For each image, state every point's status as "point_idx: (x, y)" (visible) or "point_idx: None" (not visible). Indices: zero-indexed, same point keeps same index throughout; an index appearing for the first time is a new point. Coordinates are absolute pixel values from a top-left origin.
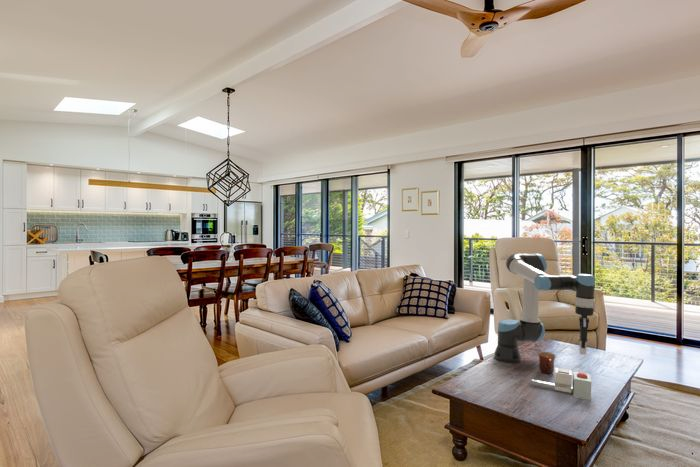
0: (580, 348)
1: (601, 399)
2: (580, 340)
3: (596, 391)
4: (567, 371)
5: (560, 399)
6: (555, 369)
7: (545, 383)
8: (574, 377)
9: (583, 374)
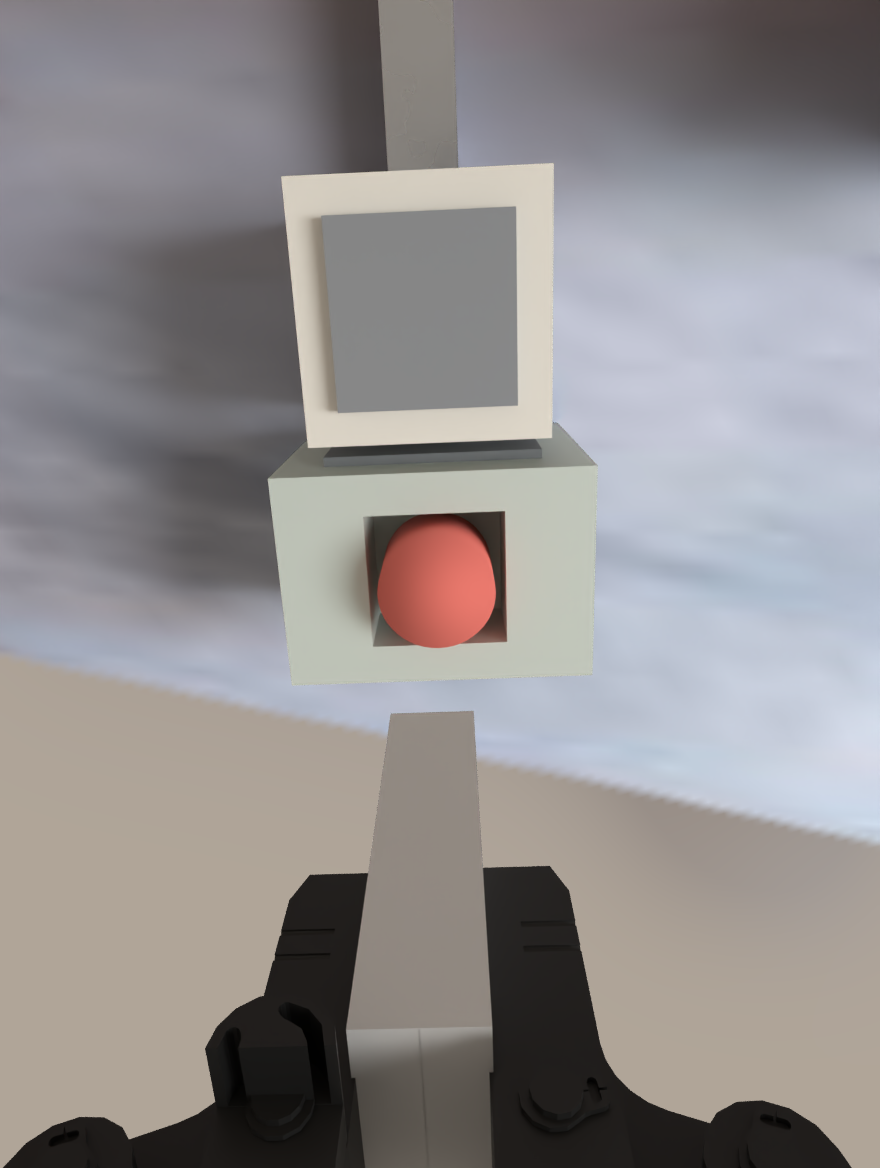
0: (376, 824)
1: (420, 682)
2: (219, 1090)
3: (615, 648)
4: (405, 382)
5: (149, 295)
6: (434, 169)
7: (385, 63)
8: (321, 481)
9: (427, 610)
